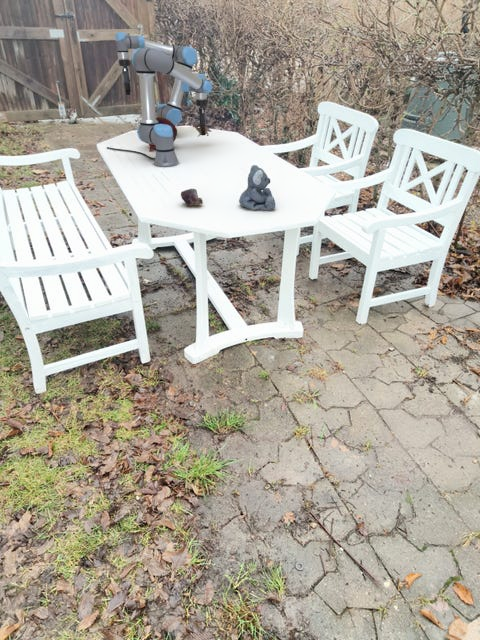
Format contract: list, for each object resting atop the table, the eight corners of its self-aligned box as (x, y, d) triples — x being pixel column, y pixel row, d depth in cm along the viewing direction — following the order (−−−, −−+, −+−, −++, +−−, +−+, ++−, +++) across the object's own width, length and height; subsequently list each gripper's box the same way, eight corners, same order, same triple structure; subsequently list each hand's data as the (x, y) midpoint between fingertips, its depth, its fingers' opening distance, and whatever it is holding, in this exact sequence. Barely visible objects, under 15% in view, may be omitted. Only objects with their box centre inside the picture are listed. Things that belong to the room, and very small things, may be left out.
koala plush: (276, 211, 223) (277, 171, 212) (240, 212, 222) (240, 172, 211) (271, 199, 237) (272, 161, 226) (237, 200, 236) (237, 162, 225)
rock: (196, 202, 238) (178, 205, 233) (194, 185, 234) (176, 188, 230) (205, 205, 228) (187, 208, 224) (203, 188, 224) (185, 191, 220)
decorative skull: (144, 123, 333) (138, 119, 309) (175, 116, 332) (171, 112, 308) (152, 153, 340) (146, 152, 316) (182, 146, 339) (179, 144, 315)
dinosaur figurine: (193, 137, 324) (193, 123, 319) (193, 135, 329) (192, 121, 323) (212, 136, 326) (212, 122, 320) (211, 134, 330) (211, 121, 325)
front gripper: (208, 101, 307) (209, 136, 320) (205, 97, 321) (206, 131, 335) (197, 101, 306) (199, 137, 319) (194, 97, 320) (196, 132, 333)
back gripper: (129, 60, 299) (133, 95, 311) (130, 57, 320) (134, 90, 332) (117, 60, 298) (122, 96, 310) (119, 57, 319) (123, 91, 331)
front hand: (202, 134), depth 327 cm, fingers closed on dinosaur figurine, 5 cm apart
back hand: (128, 93), depth 321 cm, fingers open, 13 cm apart
